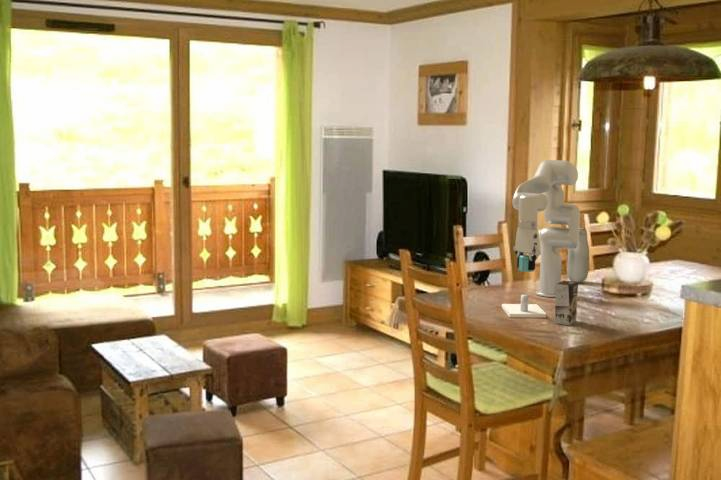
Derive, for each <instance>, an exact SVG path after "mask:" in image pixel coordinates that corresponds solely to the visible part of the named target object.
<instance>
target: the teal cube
mask: <svg viewBox="0 0 721 480" xmlns="http://www.w3.org/2000/svg"><path fill="white" fill-rule="evenodd" d="M528 261H530V259H529V255H528V254H524V255H520V258H519V268H518V271H519V272H523V273H524V272H525V273H528V272H529V273H530V272H531V273H532V272H534V271H535V270H528Z"/></svg>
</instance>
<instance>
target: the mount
mask: <svg viewBox="0 0 721 480" xmlns="http://www.w3.org/2000/svg"><path fill="white" fill-rule="evenodd" d="M501 308H502V310H503V311H504V312H505V313H506V315H507V316H508V317H509V318H530V319H531V318H537V319H539V318H543V319H545V318H547V313H546V312H545V311H544V310H543V309H542V308H541V307H540V306H539V305H538V304H536V303H535V304H534V303H529V295H528V294H521V295H520V303H502V304H501Z"/></svg>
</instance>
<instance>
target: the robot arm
mask: <svg viewBox="0 0 721 480" xmlns="http://www.w3.org/2000/svg"><path fill="white" fill-rule="evenodd" d="M536 169H537V170H536V171H535V173H534V175H533V177H532V178H529V179H528V180H526V181H523V182H522V183H520V184H519V185H518V186H517V187H516V189H515V192H514V194H513V196H512V199H511V200H512V201H511V203H512V207H513V208H514V209H515V210H517V211H518V225H517V226H518V227H517V229H516V235H515V236H516V237H515V245H514V246H512V249H513V251H514V254H515V256H516V260H517V261H516V267H517V268H518V269H519V258H520V255H525V254H527V255H529V259H530V261H528V270H534V271H535V270H536V261H537V259H538V258H539V257H540V264H539V284H538V285H539V288H538V290H536V291H535V295H537V296H540V297H546V298H556V286H557V283H559V282H561V280H562V279H561V278H562V263H563V262H562V261H563V258H562V255H561V253H560V251H559V249H561V250H562V249H565V250H568V249H575V248H576V247H577V246H578V241H579V227H581V226H580V224H581V223H580V222H581V212H580V208H579V206H578V205H576V204H573V203H565V191H564V189H563V188H562V186H574V185H575V184H576V183H577V181H578V178H579V172H578V169H577V166H575V165H574V164H573V163H572V162H570V161H568V160H562V159H561V160H559V159H554V160H553V159H547V160H543V161H542V162H540V163H539V165H538V167H537V168H536ZM543 193H544V194H543ZM539 212H540V213H541V212H544V213H543V218H544V221H545V223H547V224H551V225H564V226H565V225H566V226H567V227H560V226H558V227H557V226H546V227H543V228H542V229H541V230H540V231H539V229H538V213H539Z"/></svg>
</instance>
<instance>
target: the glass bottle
mask: <svg viewBox="0 0 721 480" xmlns="http://www.w3.org/2000/svg"><path fill="white" fill-rule="evenodd" d="M566 262H567V264H566V266H567V267H566V273H567V278H568V279H569V281H574V282H578V284H582V283H583V282H585V281H586V279H587V278H588V275H589V266H590V265H589V263H590V247H589V242H588V231H587V230H586V228H584V227H581V226H580V227H579V241H578V246H577V247H576V248H575V249H567V261H566Z"/></svg>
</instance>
